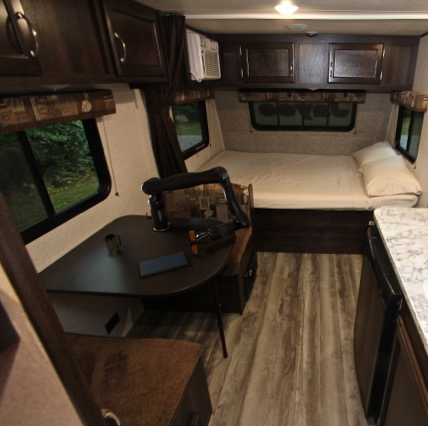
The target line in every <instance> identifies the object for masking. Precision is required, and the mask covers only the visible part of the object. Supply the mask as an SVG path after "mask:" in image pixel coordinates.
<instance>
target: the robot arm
mask: <svg viewBox="0 0 428 426" xmlns="http://www.w3.org/2000/svg"><path fill="white" fill-rule="evenodd" d="M217 184H218V185H220V187H221V188H222V192H223V197H224V201H225V204H226V207H227V208H228V210H229V212H230V214H231V216H233V217H235V219H233V220H230V221H227V222H225V223H221V224H217V225H214V226H211V227H209V228H208V229H207V230H206V231H203V232H201V230H199V231H197V232H196V233H195V238H196V240H195V241H192V242H191V238H189V239H187V240H186V244H187V245H189V247H192V246H193V245H196V244H197V245H199V246H205V245H211V244H212V242H216V241H218V240H221V239H223V238H226V237H228V236H229V235H232V234H234V233H236V232H237V231H240V230H246V229H248V228H250V226H251V220H250V217H249V216H248V214H247V213H246V212H245V211H244V210H243V207H242V205H241V203H240V202H239V199H238V197H237V195H236V193H235V190H234V188H233V184H232V182H231V179H230V175H229V171H228V170H227V168H225V167H224V166H222V165H218V166H214V167H211V168H209V169H206V170H203V171H190V172H189V171H188V172H187V171H186V172H181V173H177V174H173V175H171V176H168V177H165V178H163V179H161V178H159V177H157V176H153V177H150V178H147V180H145V181H143V182H142V184H141V186H140V189H141V192H142V193H143V194H145V195H146V196H149V198H148V200H147V204H148V207H149V211H150V216H148V214H149V212H145V218H146V219H151V220H152V225H153V230H154V231H155V232H158V233H159V232H165V231H168V230H169V229H171V223H170V222H171V221H170V219H169V214H168V208H167V205H166V192H167V193H168V192H174V191H180V190H181V191H182V190H186V189H191V188H195V187H196V188H197V187H199V186H202V185H203V186H204V185H217Z"/></svg>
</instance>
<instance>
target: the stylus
mask: <svg viewBox="0 0 428 426" xmlns="http://www.w3.org/2000/svg"><path fill="white" fill-rule="evenodd" d="M195 234H196V233H195V230H190V231H189V239H191V242H192V241H195V240H196V238H195ZM191 248H192V249H191V250H192V254H193V256H197V255H199V250H198V244H196V245H193V246H191Z"/></svg>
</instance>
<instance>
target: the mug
mask: <svg viewBox="0 0 428 426" xmlns="http://www.w3.org/2000/svg"><path fill="white" fill-rule="evenodd" d="M117 239H118V240H117ZM104 242H105V246H106V249H107V252H108V255H109V256H110V258H111V257H113V258H114V257H117V256H120V255H121V254H122V251H121V249H120V247H121V246H122V241H121V236H120V235H119V234H115V233H110V234H107V235H105V236H104ZM118 243H119V244H118Z"/></svg>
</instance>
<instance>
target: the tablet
mask: <svg viewBox="0 0 428 426" xmlns="http://www.w3.org/2000/svg"><path fill="white" fill-rule="evenodd" d="M138 264H139V273H140V278H141V279H145V278H148V277H152V276H155V275H159V274H163V273H166V272H170V271H173V270H174V271H175V270H177V269H182V268H185V267H189V266H190V264H189V261H188V258H187V256H186V253H185V251H184V250H182V251H178V252H174V253H170V254H166V255H162V256H159V257H154V258H150V259H146V260H142V261H139V262H138Z"/></svg>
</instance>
